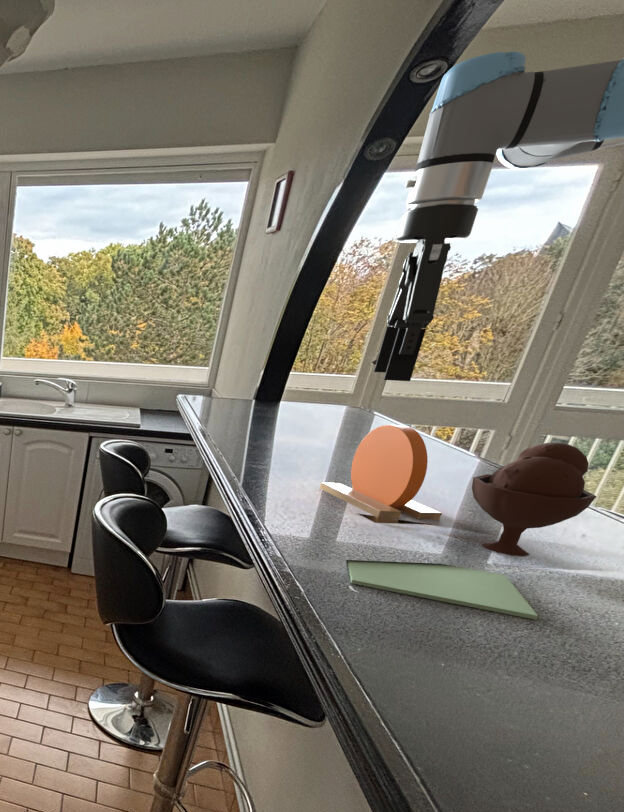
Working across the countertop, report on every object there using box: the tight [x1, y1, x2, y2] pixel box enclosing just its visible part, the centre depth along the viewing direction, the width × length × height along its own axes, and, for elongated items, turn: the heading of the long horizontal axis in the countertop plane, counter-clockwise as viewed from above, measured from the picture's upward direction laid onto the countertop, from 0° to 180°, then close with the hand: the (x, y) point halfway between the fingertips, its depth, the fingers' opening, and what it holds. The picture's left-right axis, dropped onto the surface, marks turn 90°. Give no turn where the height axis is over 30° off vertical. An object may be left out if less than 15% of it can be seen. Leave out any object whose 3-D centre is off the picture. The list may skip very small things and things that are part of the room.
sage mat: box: [345, 559, 539, 621], centre depth 70 cm, size 16×12×1 cm
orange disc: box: [350, 424, 429, 509], centre depth 91 cm, size 2×13×13 cm, turn 175°
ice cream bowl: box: [471, 441, 597, 557], centre depth 75 cm, size 11×11×15 cm
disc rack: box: [319, 482, 443, 526], centre depth 93 cm, size 9×15×3 cm, turn 175°
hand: (390, 376), depth 84 cm, fingers open, 13 cm apart
